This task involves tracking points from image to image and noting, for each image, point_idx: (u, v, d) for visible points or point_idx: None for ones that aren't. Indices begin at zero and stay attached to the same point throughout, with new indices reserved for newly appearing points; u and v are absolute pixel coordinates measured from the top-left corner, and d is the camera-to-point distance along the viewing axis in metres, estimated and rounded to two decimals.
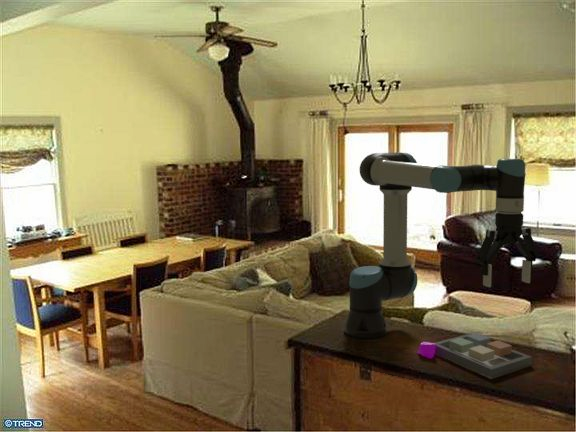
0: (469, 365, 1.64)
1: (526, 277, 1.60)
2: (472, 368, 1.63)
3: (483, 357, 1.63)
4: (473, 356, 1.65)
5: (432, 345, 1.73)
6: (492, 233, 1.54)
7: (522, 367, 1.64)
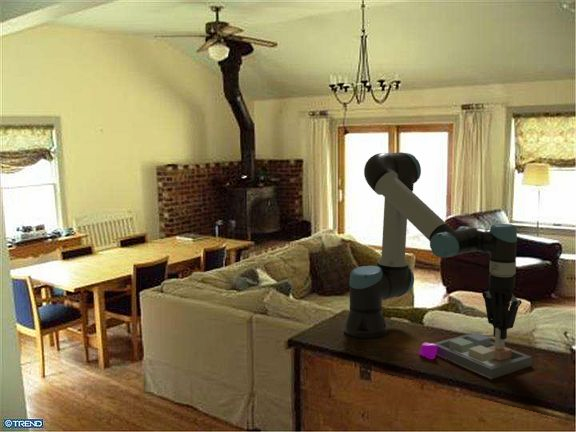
0: (469, 365, 1.64)
1: None
2: (472, 368, 1.63)
3: (483, 357, 1.63)
4: (473, 356, 1.65)
5: (434, 346, 1.72)
6: (483, 295, 1.72)
7: (522, 367, 1.64)
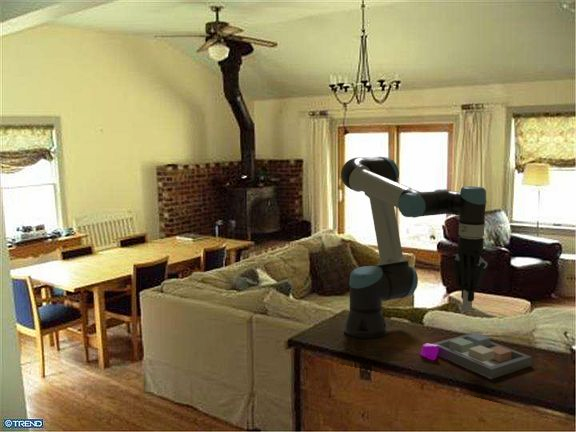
0: (469, 365, 1.64)
1: None
2: (472, 368, 1.63)
3: (483, 357, 1.63)
4: (473, 356, 1.65)
5: (435, 347, 1.71)
6: (452, 258, 1.73)
7: (522, 367, 1.64)
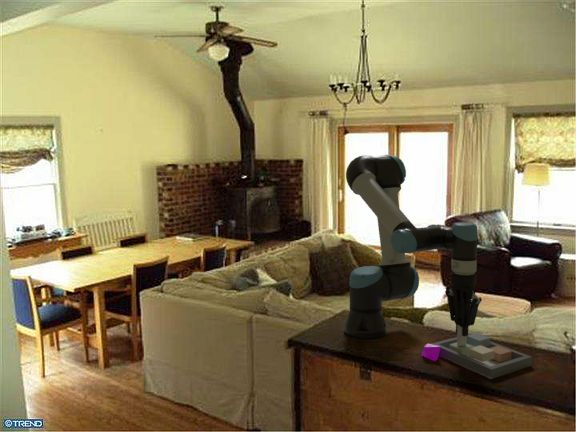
0: (469, 365, 1.64)
1: None
2: (472, 368, 1.63)
3: (483, 357, 1.63)
4: (473, 356, 1.65)
5: (436, 347, 1.71)
6: (446, 293, 1.75)
7: (522, 367, 1.64)
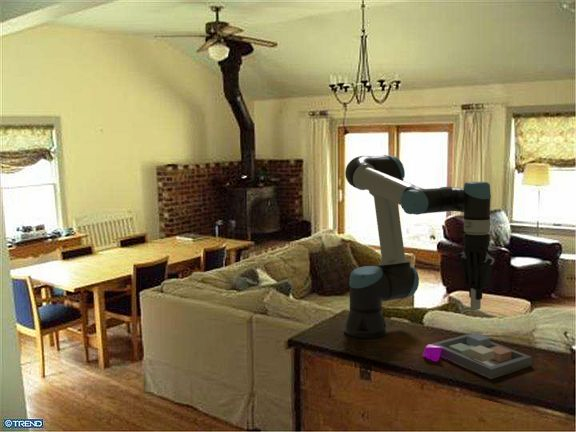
0: (469, 365, 1.64)
1: None
2: (472, 368, 1.63)
3: (483, 357, 1.63)
4: (473, 356, 1.65)
5: (438, 348, 1.70)
6: (458, 256, 1.69)
7: (522, 367, 1.64)
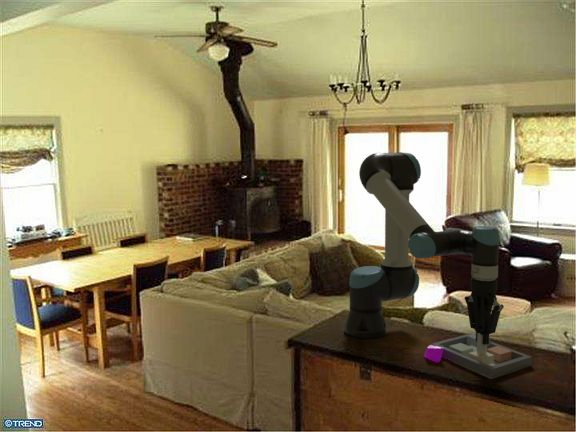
0: (469, 365, 1.64)
1: None
2: (472, 368, 1.63)
3: (483, 362, 1.63)
4: None
5: (439, 349, 1.70)
6: (465, 299, 1.68)
7: (522, 367, 1.64)
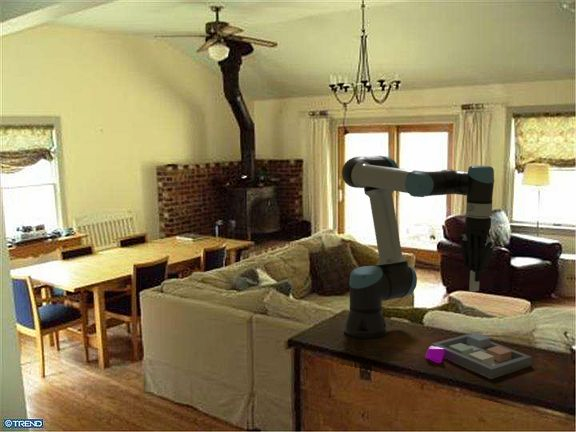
0: (469, 365, 1.64)
1: None
2: (472, 368, 1.63)
3: None
4: None
5: (441, 349, 1.69)
6: (459, 238, 1.72)
7: (522, 367, 1.64)
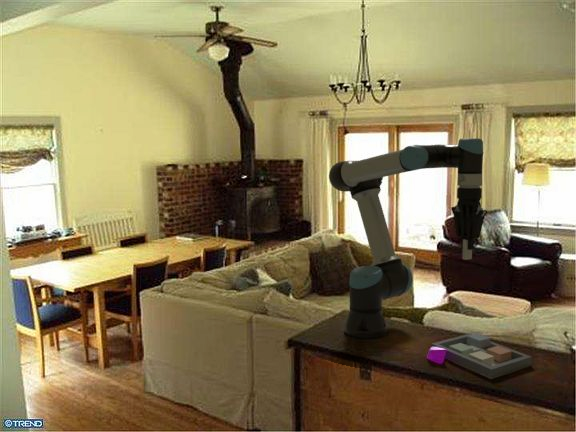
0: (469, 365, 1.64)
1: None
2: (472, 368, 1.63)
3: None
4: None
5: (442, 350, 1.68)
6: (452, 209, 1.79)
7: (522, 367, 1.64)
